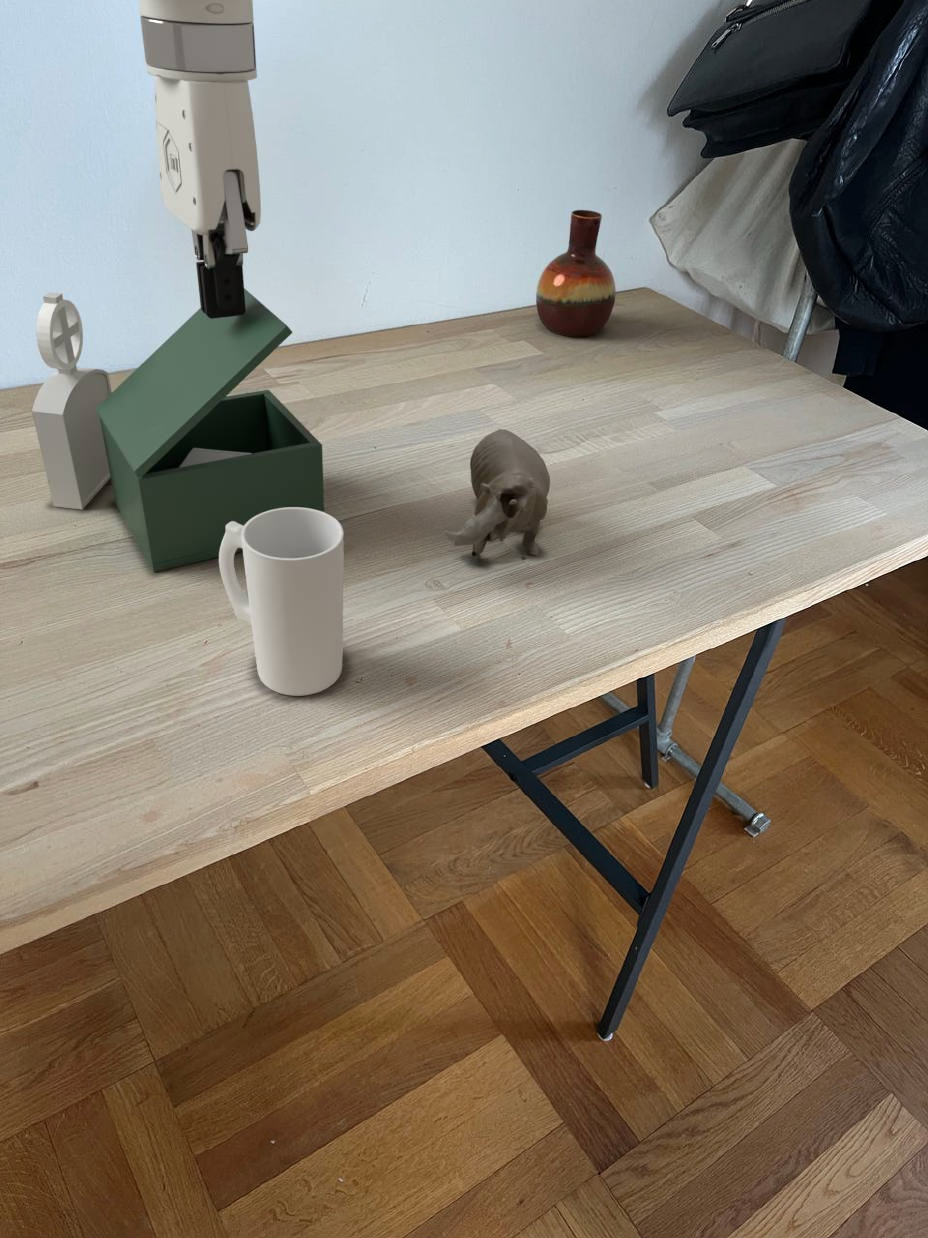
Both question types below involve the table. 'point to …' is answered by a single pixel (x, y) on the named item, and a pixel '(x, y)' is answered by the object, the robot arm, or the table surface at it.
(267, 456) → the bin
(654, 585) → the table surface
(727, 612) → the table surface
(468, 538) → the rhinoceros figurine
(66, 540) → the table surface
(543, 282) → the vase
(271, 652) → the mug
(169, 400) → the bin lid
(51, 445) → the gravestone
